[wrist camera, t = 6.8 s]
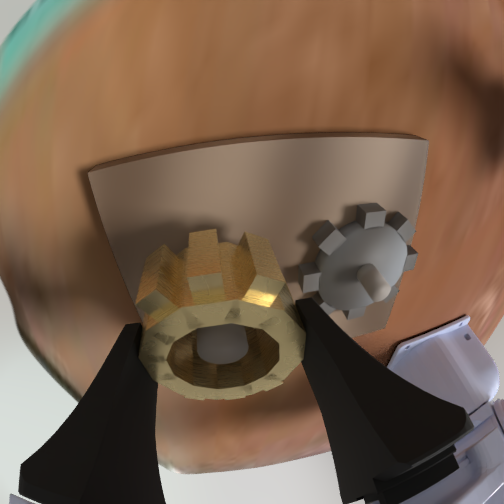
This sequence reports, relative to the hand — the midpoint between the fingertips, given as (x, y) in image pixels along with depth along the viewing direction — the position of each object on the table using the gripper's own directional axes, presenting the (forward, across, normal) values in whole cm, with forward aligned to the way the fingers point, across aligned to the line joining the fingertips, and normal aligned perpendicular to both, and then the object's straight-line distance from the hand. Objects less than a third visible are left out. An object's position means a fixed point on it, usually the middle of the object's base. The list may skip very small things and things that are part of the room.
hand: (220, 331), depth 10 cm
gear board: (+4, -3, 0) cm, 5 cm away
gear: (+2, 0, 0) cm, 2 cm away
